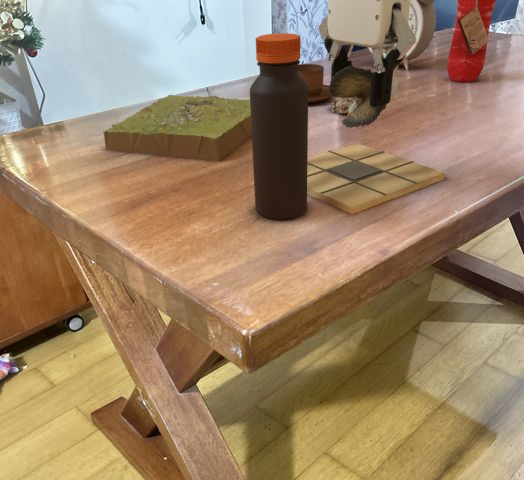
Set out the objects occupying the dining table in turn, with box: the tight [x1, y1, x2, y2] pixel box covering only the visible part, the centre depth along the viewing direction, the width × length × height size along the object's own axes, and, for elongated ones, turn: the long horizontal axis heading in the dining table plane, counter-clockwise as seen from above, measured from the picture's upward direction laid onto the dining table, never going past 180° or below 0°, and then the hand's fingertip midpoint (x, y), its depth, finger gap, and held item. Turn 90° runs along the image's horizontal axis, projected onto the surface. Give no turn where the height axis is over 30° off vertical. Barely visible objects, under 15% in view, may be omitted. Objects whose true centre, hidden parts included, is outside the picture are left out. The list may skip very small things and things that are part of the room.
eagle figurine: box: [328, 65, 399, 129], centre depth 72 cm, size 8×7×9 cm
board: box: [307, 142, 446, 215], centre depth 79 cm, size 18×18×1 cm
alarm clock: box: [367, 0, 437, 71], centre depth 130 cm, size 16×9×22 cm, turn 49°
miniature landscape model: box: [103, 94, 252, 162], centre depth 97 cm, size 22×24×5 cm
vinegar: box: [249, 32, 309, 221], centre depth 65 cm, size 7×7×20 cm
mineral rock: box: [330, 97, 356, 115], centre depth 107 cm, size 11×4×8 cm
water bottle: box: [446, 0, 497, 83], centre depth 114 cm, size 12×8×25 cm, turn 159°
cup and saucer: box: [297, 63, 331, 104], centre depth 113 cm, size 12×12×6 cm
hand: (359, 98), depth 72 cm, fingers closed on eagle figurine, 6 cm apart
